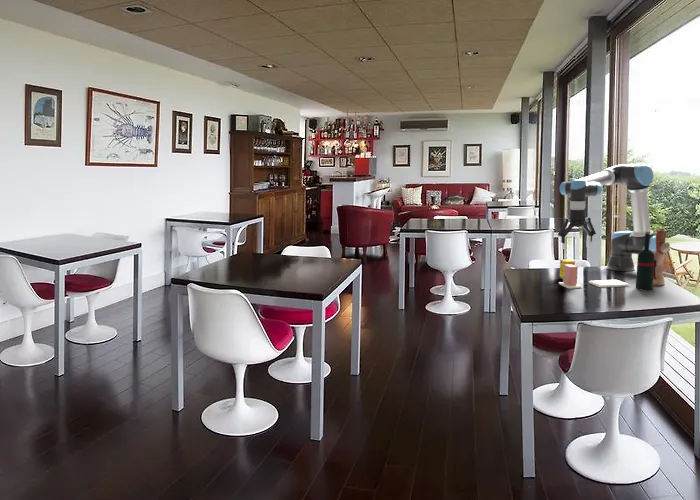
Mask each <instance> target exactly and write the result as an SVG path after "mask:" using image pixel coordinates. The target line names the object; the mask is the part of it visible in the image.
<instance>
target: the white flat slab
mask: <svg viewBox="0 0 700 500" xmlns="http://www.w3.org/2000/svg"><path fill="white" fill-rule="evenodd" d="M588 284H590V285H592V286H596V287H598V288H615V287H617V288H618V287H629V286H630V285H629V283H627V282H624V281H621V280H618V279H605V280H589V281H588Z"/></svg>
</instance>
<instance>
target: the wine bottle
mask: <svg viewBox="0 0 700 500" xmlns="http://www.w3.org/2000/svg"><path fill="white" fill-rule="evenodd" d="M645 233H646V234H645V244H644V250H642V251H640V252H639V254H637V264H636V265H637V266H636V276H635V290H639V291H644V290H646V291H652V290H653V288H654V285H653V277H654V279H656V277H655V267H656V263H657V261H656V260H654V256H655V255H654V253H653V252H652V251H650V250H649V242H650V232H649V231H645ZM646 291H645V292H646Z"/></svg>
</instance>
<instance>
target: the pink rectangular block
mask: <svg viewBox="0 0 700 500" xmlns="http://www.w3.org/2000/svg"><path fill="white" fill-rule="evenodd" d="M578 269H579V268H578V266H577V265H575V266H574V265H571V264H567V265H564V275H563V280H562V281H559V282H558V285H560V286H562V287H564V288H567V289H570V290H571V289H582V285H580V284H578Z"/></svg>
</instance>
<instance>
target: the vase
mask: <svg viewBox="0 0 700 500" xmlns="http://www.w3.org/2000/svg"><path fill="white" fill-rule="evenodd" d="M666 235H667V229H664V228H657V230H656V235H655V236H656V251H655V250H652V252H653V253H654V255H655V256H654V260H656V261H657V263H656V267H655V277H656V279H654V277H653V286H656V285H658V286H660V285H663V286H665V283H666V282H665V277H664V274H663V261H664V259H665V257H666V252H668V251H669V250H670V248H671V243H670V242H668V241H666V237H667V236H666ZM658 286H657V287H658Z"/></svg>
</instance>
